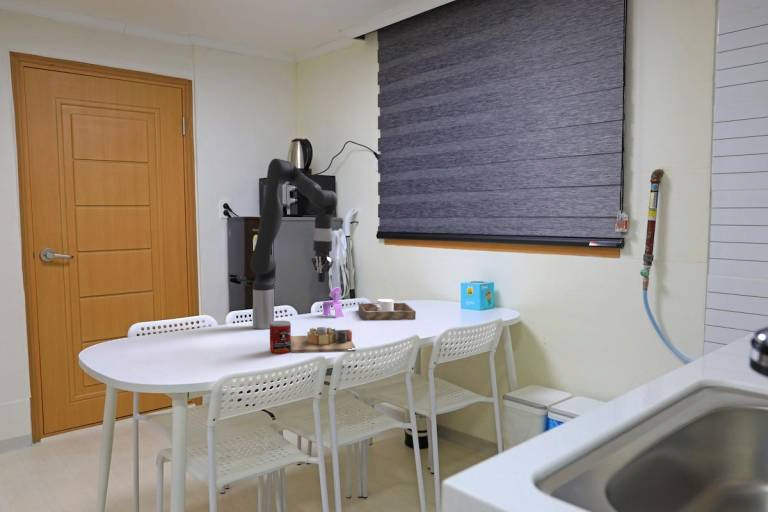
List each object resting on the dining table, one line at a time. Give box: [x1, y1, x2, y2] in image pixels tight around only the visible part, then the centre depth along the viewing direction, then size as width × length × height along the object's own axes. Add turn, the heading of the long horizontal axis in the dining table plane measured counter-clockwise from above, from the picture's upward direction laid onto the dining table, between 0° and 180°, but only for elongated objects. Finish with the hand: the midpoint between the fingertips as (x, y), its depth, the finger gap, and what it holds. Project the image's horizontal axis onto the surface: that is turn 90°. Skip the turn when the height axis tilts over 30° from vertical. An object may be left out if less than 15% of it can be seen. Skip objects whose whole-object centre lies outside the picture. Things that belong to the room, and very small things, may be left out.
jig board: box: [290, 326, 356, 354], centre depth 228 cm, size 24×24×6 cm
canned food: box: [269, 320, 292, 355], centre depth 215 cm, size 8×8×11 cm
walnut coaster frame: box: [358, 302, 417, 321], centre depth 294 cm, size 25×26×4 cm
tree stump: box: [373, 298, 395, 312], centre depth 292 cm, size 20×19×8 cm
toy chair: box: [322, 286, 344, 319], centre depth 288 cm, size 8×9×15 cm
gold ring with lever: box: [306, 327, 353, 345], centre depth 229 cm, size 11×18×5 cm, turn 103°
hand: (321, 281), depth 236 cm, fingers closed
